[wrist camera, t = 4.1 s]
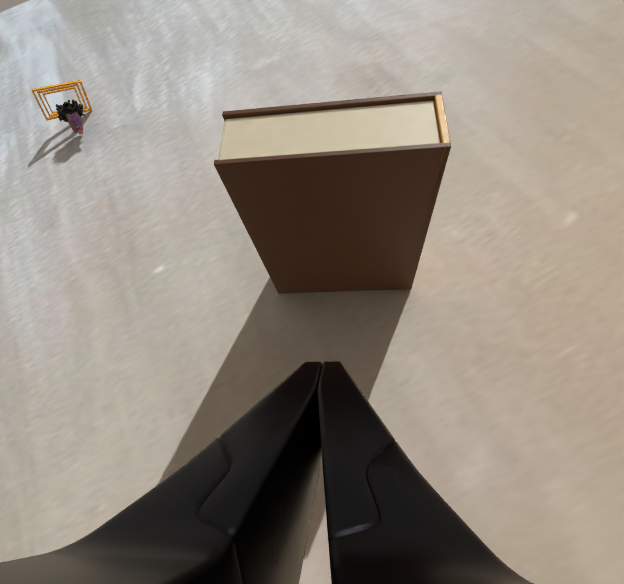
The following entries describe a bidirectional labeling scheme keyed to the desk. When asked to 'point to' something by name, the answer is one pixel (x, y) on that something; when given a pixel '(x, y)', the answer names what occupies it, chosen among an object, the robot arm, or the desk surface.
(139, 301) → the desk surface
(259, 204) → the book
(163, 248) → the desk surface
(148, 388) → the desk surface
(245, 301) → the desk surface
